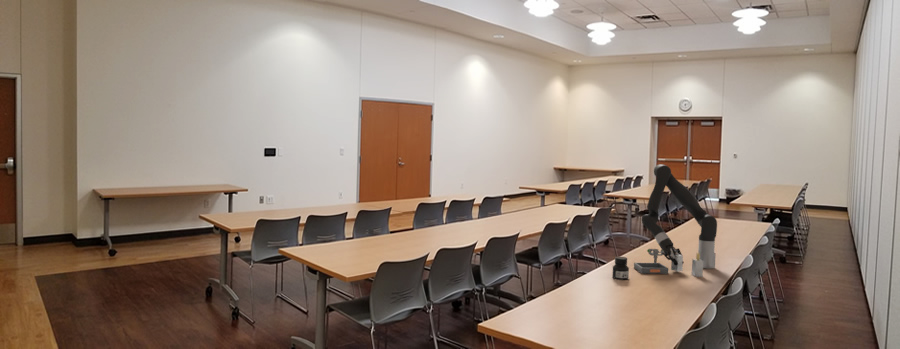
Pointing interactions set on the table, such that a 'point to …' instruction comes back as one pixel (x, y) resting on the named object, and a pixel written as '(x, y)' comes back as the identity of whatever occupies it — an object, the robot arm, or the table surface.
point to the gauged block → (697, 266)
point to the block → (680, 263)
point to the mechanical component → (655, 253)
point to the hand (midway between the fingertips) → (679, 264)
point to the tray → (651, 268)
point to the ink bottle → (620, 268)
